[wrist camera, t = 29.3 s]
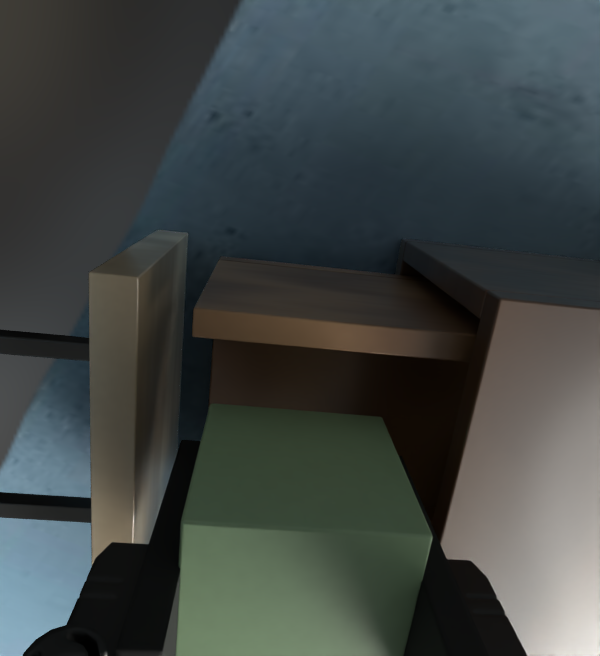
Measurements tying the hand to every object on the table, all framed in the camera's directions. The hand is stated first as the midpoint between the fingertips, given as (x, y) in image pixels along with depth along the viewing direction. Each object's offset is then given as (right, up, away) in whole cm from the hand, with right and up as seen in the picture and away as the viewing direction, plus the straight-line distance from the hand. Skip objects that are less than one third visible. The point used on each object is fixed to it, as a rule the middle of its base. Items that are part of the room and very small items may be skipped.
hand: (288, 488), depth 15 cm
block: (0, 0, 0) cm, 0 cm away
